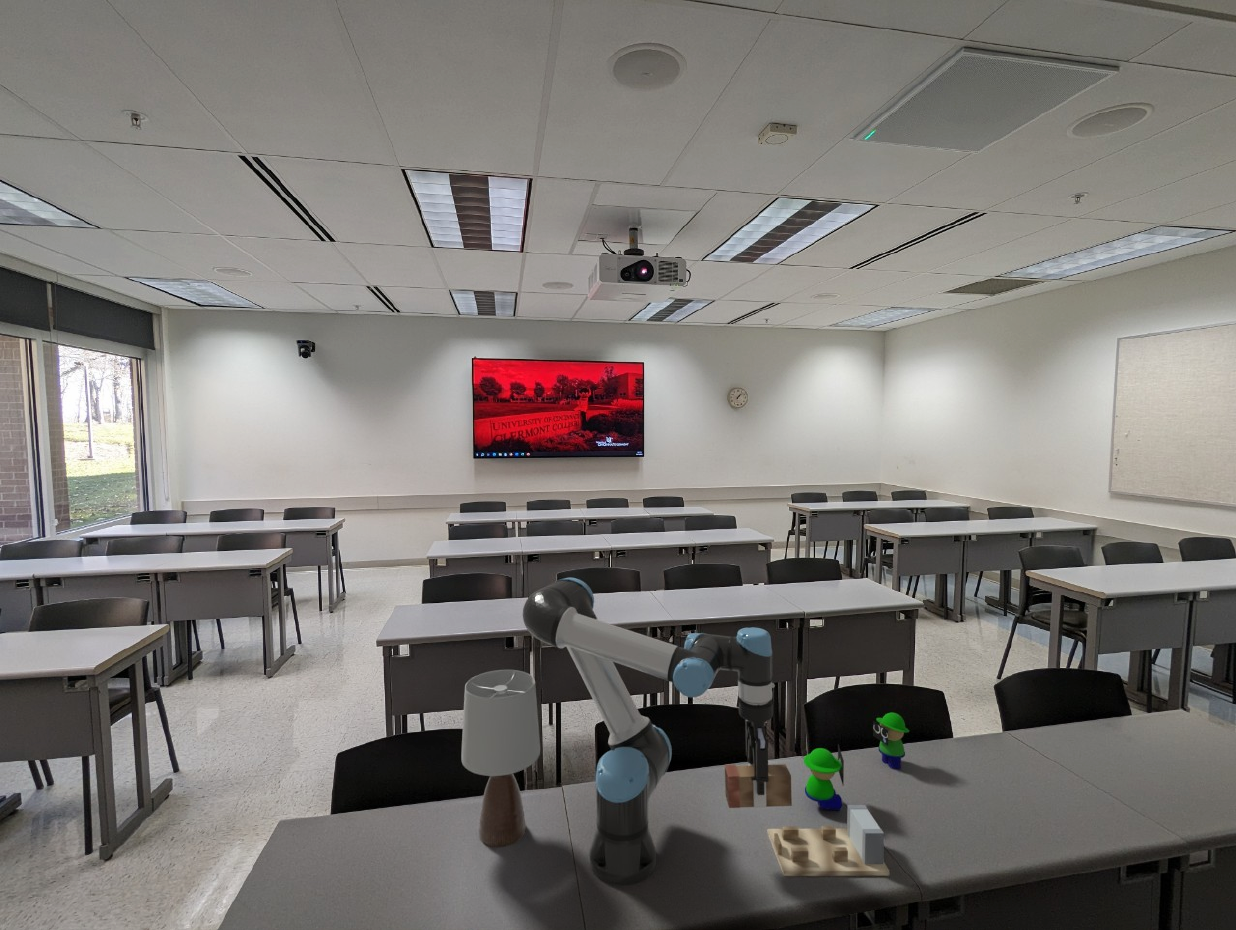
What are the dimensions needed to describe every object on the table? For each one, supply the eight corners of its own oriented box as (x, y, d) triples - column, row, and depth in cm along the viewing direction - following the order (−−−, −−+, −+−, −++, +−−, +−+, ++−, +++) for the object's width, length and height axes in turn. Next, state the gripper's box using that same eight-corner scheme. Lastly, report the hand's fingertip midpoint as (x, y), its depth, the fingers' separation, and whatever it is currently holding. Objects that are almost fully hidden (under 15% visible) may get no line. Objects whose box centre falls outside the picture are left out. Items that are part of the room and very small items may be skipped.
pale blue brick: (864, 864, 131) (865, 833, 131) (847, 834, 141) (847, 805, 141) (883, 864, 131) (883, 833, 131) (864, 833, 141) (864, 804, 141)
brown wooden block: (729, 808, 133) (728, 776, 133) (725, 795, 138) (724, 765, 137) (791, 806, 133) (791, 774, 132) (786, 793, 137) (785, 763, 137)
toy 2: (868, 758, 176) (869, 709, 175) (892, 753, 179) (893, 704, 178) (890, 774, 168) (891, 722, 167) (915, 769, 170) (916, 718, 170)
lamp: (552, 815, 150) (551, 672, 148) (521, 866, 132) (519, 704, 131) (486, 803, 155) (484, 664, 153) (447, 851, 137) (444, 695, 136)
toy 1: (844, 820, 148) (845, 761, 147) (805, 815, 150) (805, 757, 149) (837, 794, 159) (838, 739, 158) (801, 790, 160) (801, 736, 160)
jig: (783, 876, 129) (784, 860, 129) (767, 833, 143) (767, 818, 143) (889, 876, 129) (889, 859, 129) (862, 833, 143) (862, 818, 143)
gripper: (782, 716, 125) (784, 823, 126) (763, 682, 143) (764, 777, 144) (746, 716, 125) (748, 824, 126) (731, 683, 143) (733, 777, 144)
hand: (757, 799), depth 135 cm, fingers closed on brown wooden block, 4 cm apart
